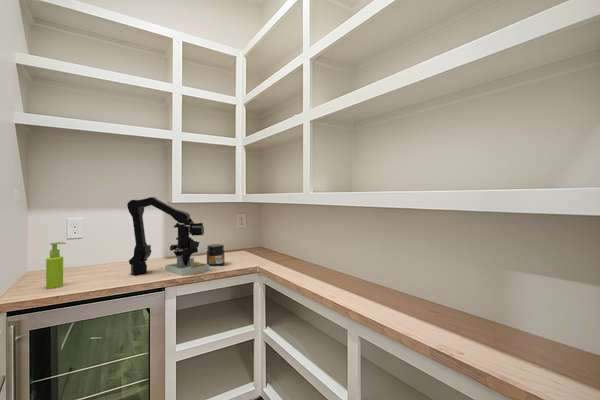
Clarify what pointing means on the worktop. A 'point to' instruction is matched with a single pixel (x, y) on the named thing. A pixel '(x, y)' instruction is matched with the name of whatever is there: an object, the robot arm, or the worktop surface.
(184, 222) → the robot arm
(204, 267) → the bay
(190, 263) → the connector
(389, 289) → the worktop surface
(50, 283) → the soap dispenser
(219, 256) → the supplement container
